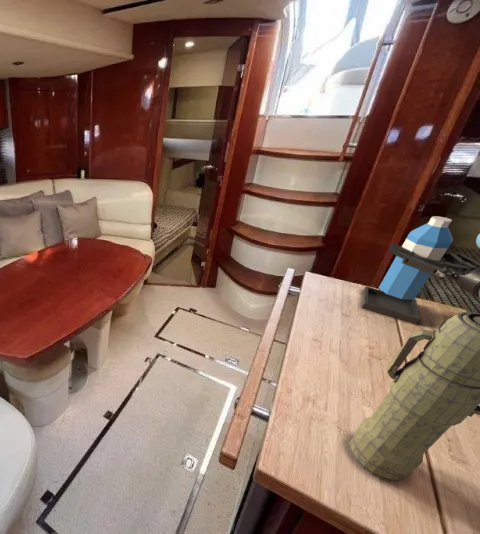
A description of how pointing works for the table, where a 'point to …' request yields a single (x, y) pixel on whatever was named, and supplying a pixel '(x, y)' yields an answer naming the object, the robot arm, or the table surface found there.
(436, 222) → the water bottle
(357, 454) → the thermos
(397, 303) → the dark grey square tray
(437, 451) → the table surface
